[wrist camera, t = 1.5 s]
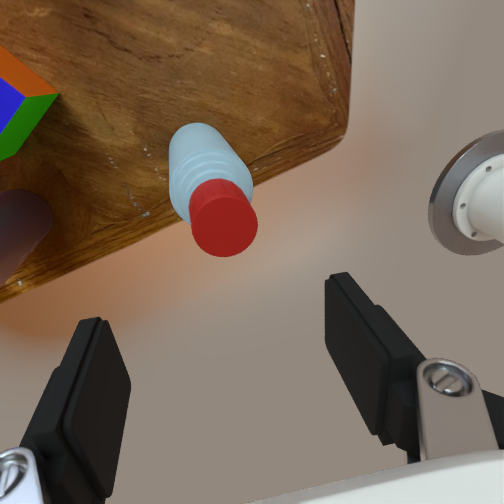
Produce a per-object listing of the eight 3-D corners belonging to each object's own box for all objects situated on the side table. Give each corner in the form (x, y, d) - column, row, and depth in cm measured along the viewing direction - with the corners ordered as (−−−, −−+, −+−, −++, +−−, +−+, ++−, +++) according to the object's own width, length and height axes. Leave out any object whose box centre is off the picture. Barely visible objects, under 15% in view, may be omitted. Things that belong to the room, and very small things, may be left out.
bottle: (223, 119, 37) (274, 165, 20) (229, 177, 40) (277, 262, 23) (163, 125, 36) (160, 179, 19) (174, 184, 39) (179, 278, 22)
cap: (243, 174, 23) (256, 191, 20) (247, 227, 25) (259, 252, 22) (184, 181, 22) (186, 201, 19) (193, 236, 24) (196, 262, 21)
